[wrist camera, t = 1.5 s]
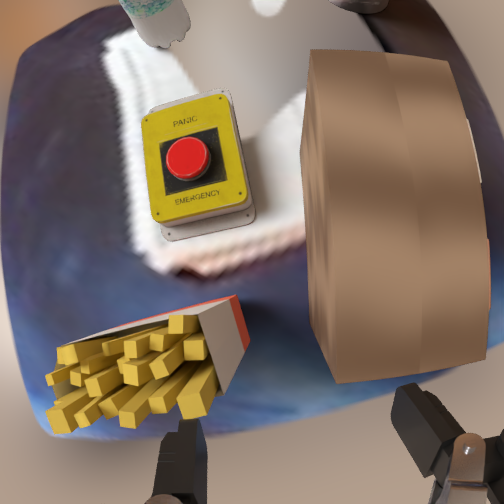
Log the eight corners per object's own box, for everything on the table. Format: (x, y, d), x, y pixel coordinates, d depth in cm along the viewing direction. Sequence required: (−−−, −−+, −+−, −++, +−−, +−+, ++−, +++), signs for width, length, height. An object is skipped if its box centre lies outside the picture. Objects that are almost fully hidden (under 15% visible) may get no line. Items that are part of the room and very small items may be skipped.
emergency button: (147, 240, 27) (132, 94, 28) (165, 243, 31) (148, 112, 32) (253, 216, 26) (222, 66, 27) (258, 223, 30) (229, 88, 31)
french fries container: (136, 315, 31) (3, 355, 13) (239, 288, 30) (174, 317, 12) (150, 358, 30) (32, 432, 12) (253, 335, 29) (210, 425, 11)
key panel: (299, 152, 30) (310, 49, 14) (379, 151, 29) (447, 61, 13) (309, 323, 29) (336, 383, 13) (392, 316, 28) (485, 359, 12)
